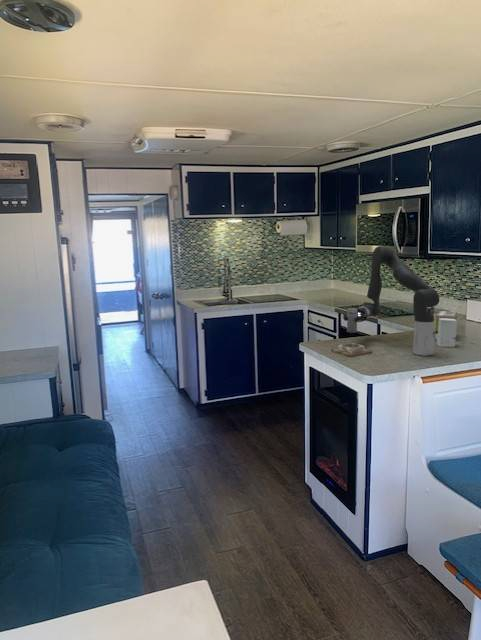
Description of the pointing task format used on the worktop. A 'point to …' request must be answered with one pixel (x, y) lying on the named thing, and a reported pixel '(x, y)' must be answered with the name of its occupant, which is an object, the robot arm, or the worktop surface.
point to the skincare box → (446, 332)
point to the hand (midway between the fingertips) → (350, 319)
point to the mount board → (351, 350)
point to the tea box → (444, 315)
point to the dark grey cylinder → (351, 320)
